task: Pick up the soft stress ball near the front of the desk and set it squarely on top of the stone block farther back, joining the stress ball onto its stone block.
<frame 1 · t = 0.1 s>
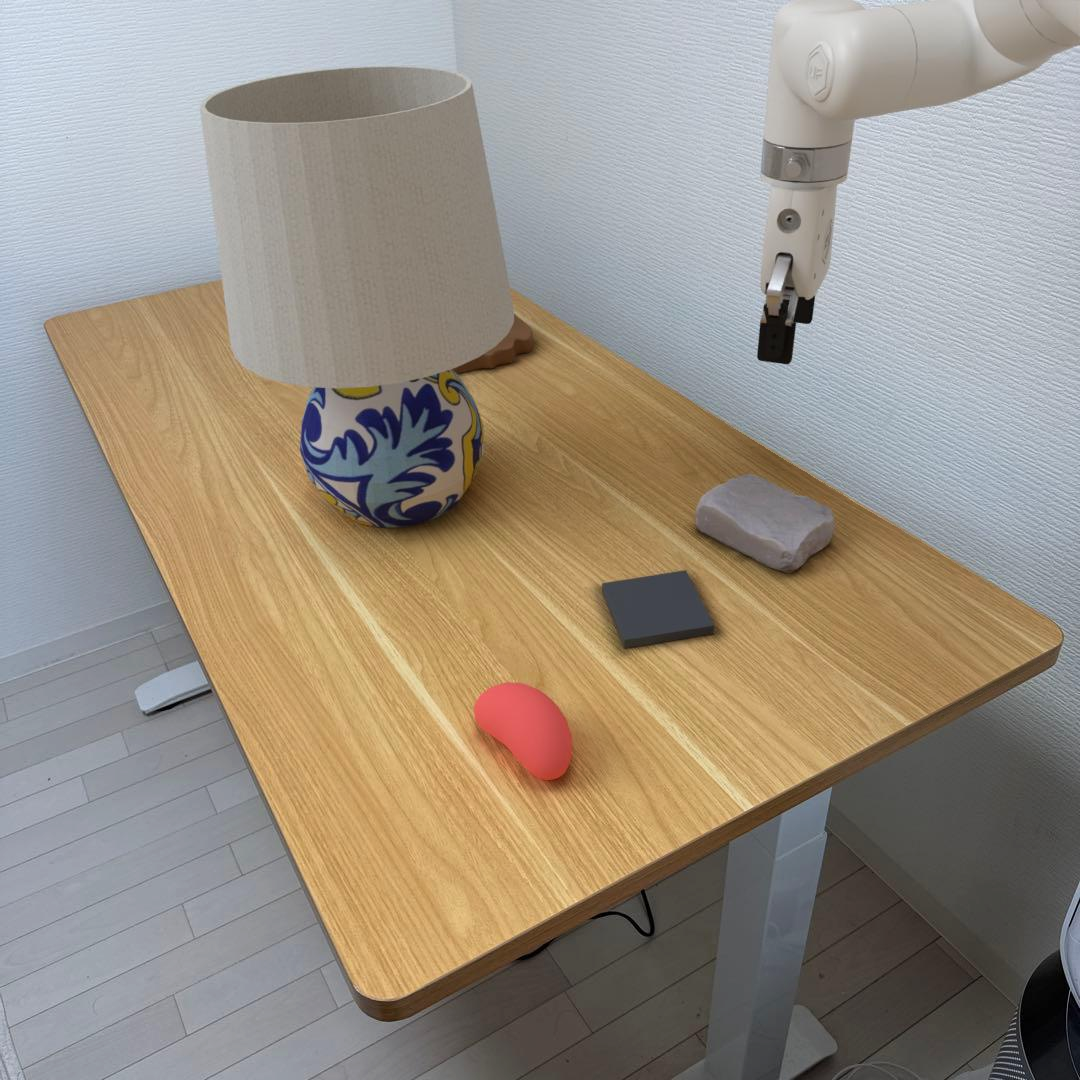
hand: (785, 340, 95), 15 cm above the table, tool pointing down, fingers open, 9 cm apart
felt pad: (656, 612, 86), on the table
stone block: (767, 534, 95), on the table
table lamp: (401, 492, 104), on the table
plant: (454, 346, 134), on the table
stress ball: (527, 748, 74), on the table
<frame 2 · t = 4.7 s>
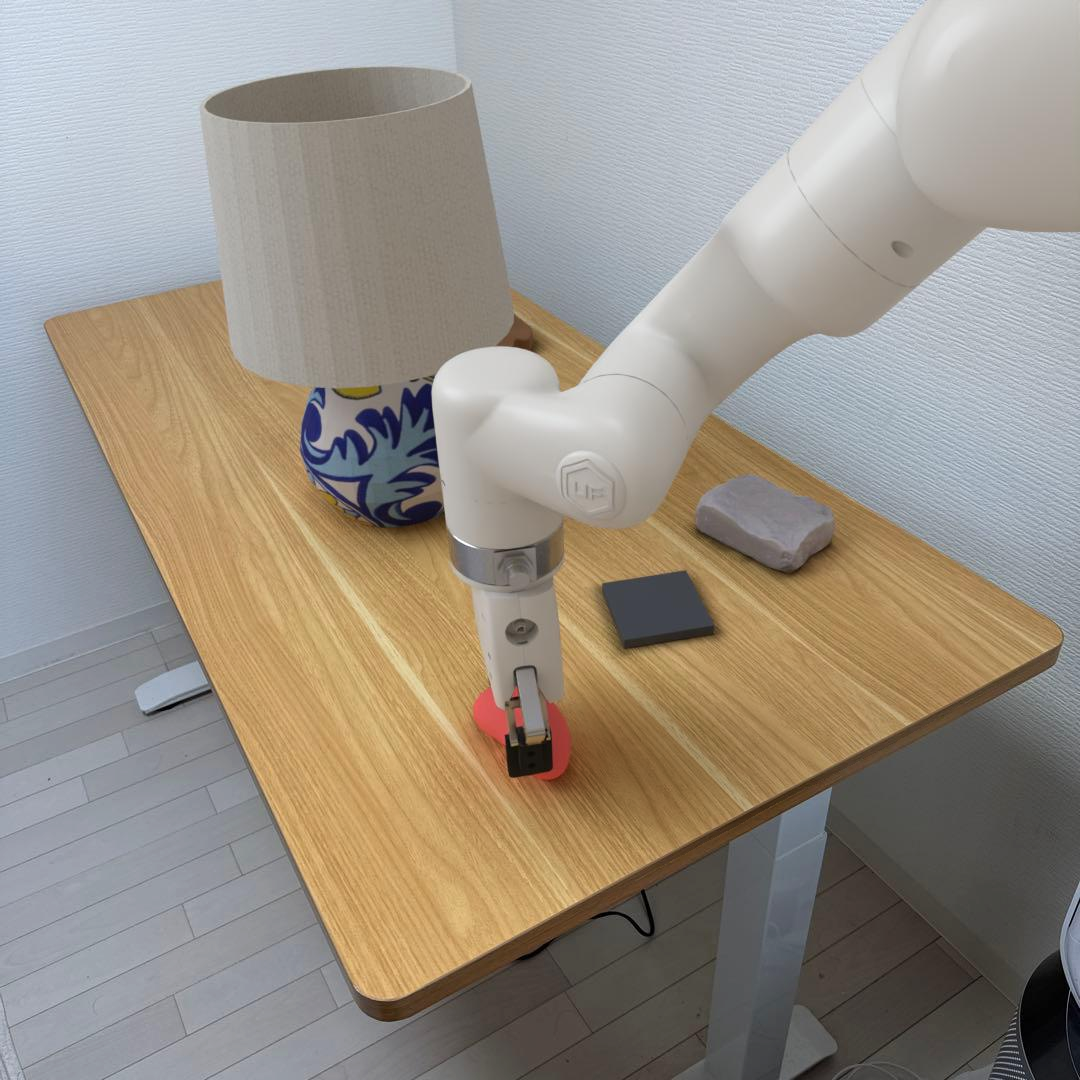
hand: (519, 724, 72), 2 cm above the table, tool pointing down, fingers closed on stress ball, 8 cm apart
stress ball: (526, 748, 74), on the table, touching gripper
everything else where it was.
when the fingers open (7 cm above the table, at t = 12.3 s): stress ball stays where it is, resting on stone block.
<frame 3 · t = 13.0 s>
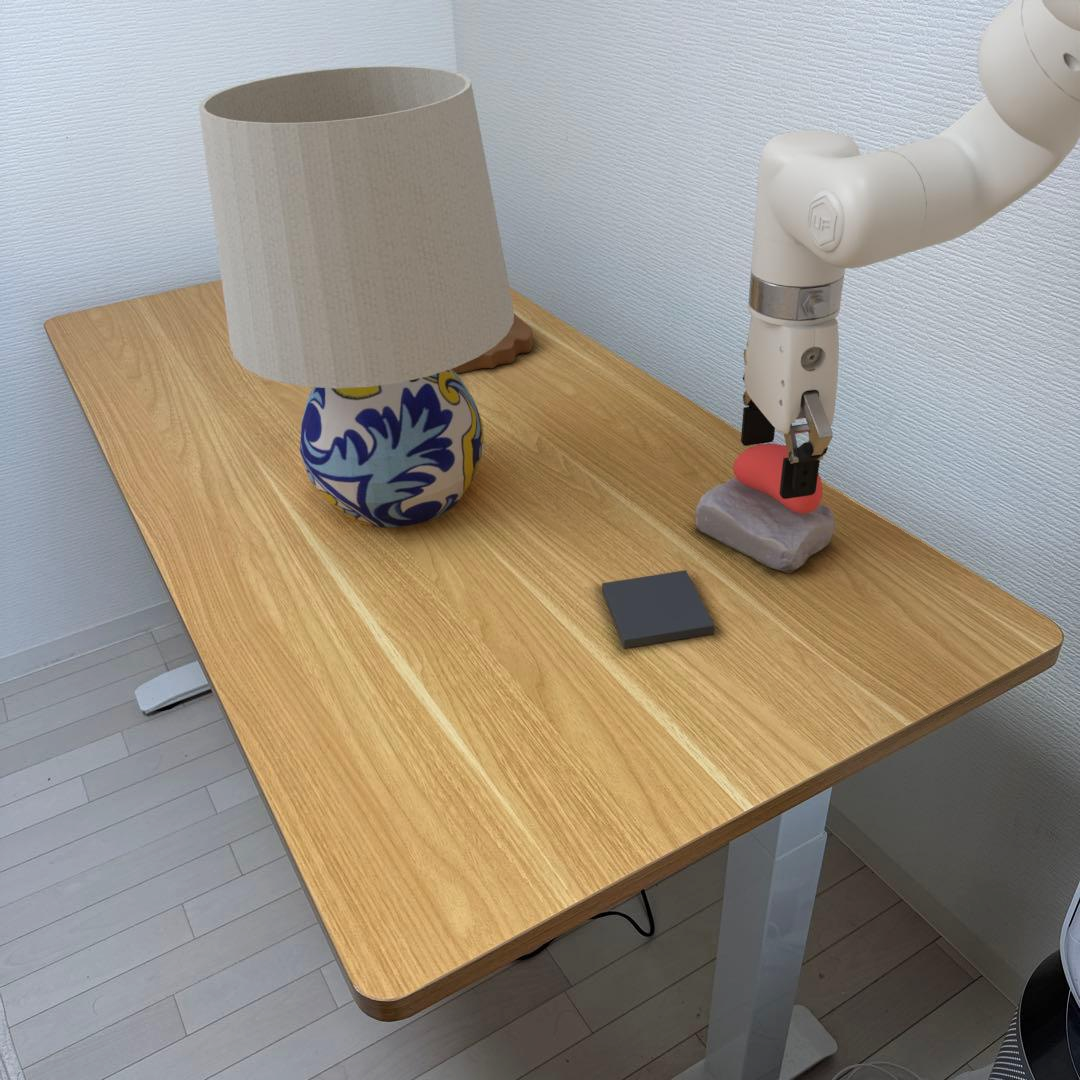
hand: (776, 467, 90), 8 cm above the table, tool pointing down, fingers open, 9 cm apart
stone block: (767, 534, 95), on the table, touching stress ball
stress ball: (776, 498, 92), point 4 cm above the table, touching stone block
everything else where it was.
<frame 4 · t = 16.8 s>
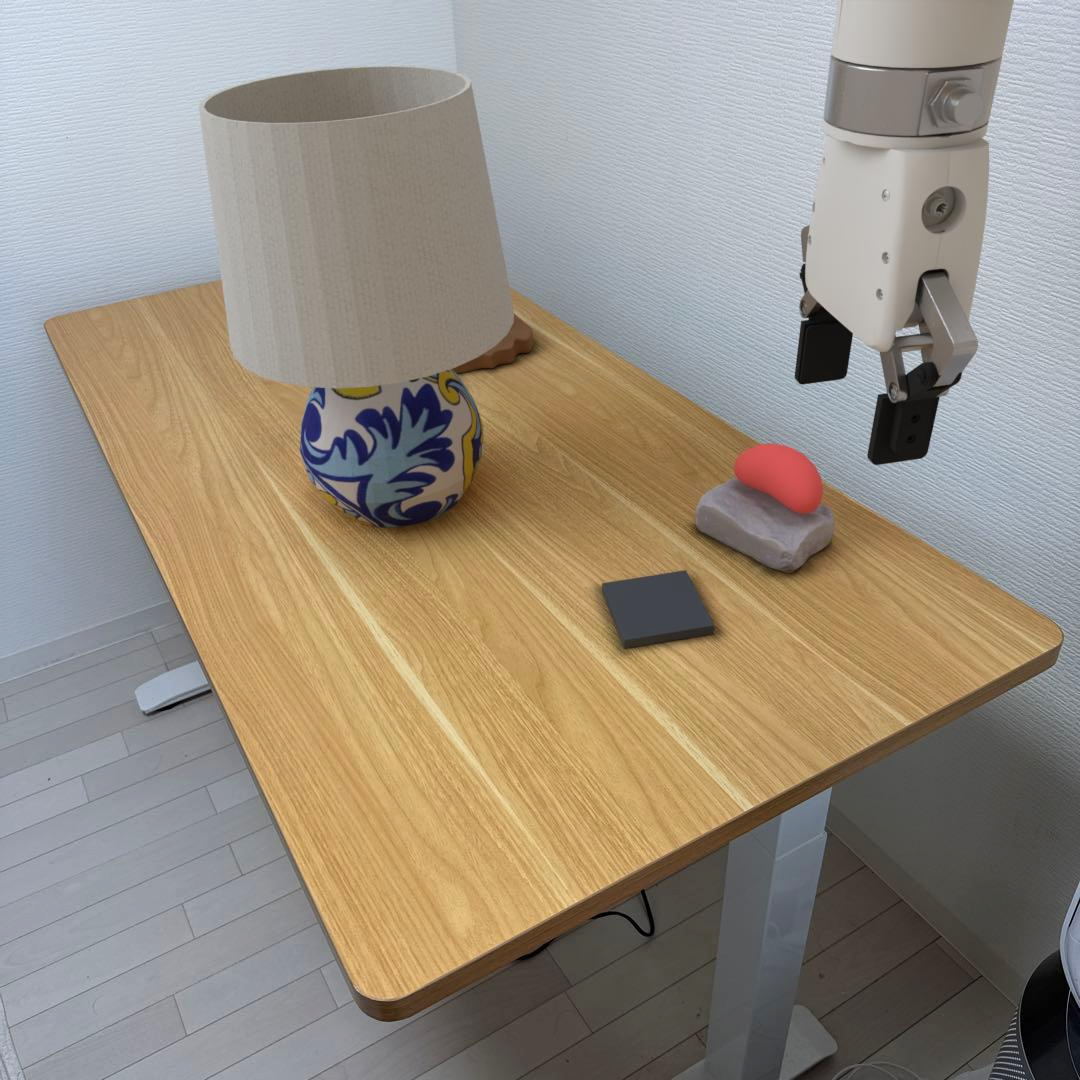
hand: (855, 416, 56), 28 cm above the table, tool pointing down, fingers open, 9 cm apart
nothing on the table moved.
at the end: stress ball inside the target area on the stone block (0.5 cm from its centre), point 4.2 cm above the stone block's base; the gripper is holding nothing; stone block moved 0.2 cm from its start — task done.
